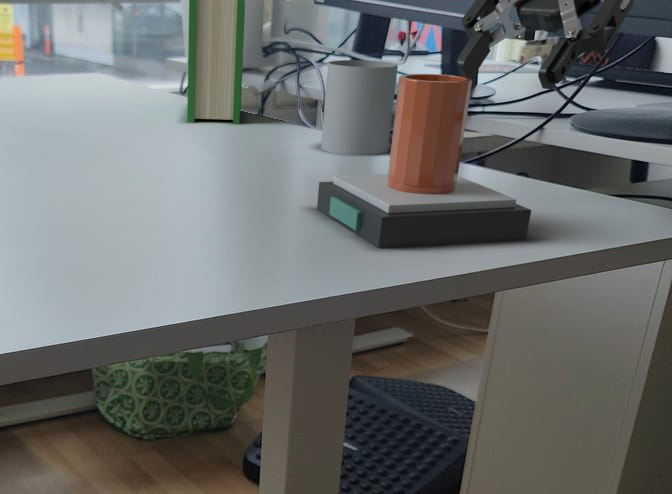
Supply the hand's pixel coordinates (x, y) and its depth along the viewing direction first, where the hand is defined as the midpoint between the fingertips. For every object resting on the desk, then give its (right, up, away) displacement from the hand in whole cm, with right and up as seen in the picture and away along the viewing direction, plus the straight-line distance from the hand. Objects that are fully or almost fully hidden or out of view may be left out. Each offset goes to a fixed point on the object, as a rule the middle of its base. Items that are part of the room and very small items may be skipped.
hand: (501, 77), depth 86 cm
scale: (-8, -13, +1) cm, 15 cm away
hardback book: (-25, +20, +57) cm, 66 cm away
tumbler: (-7, -10, -1) cm, 13 cm away
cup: (-8, +6, +34) cm, 36 cm away
